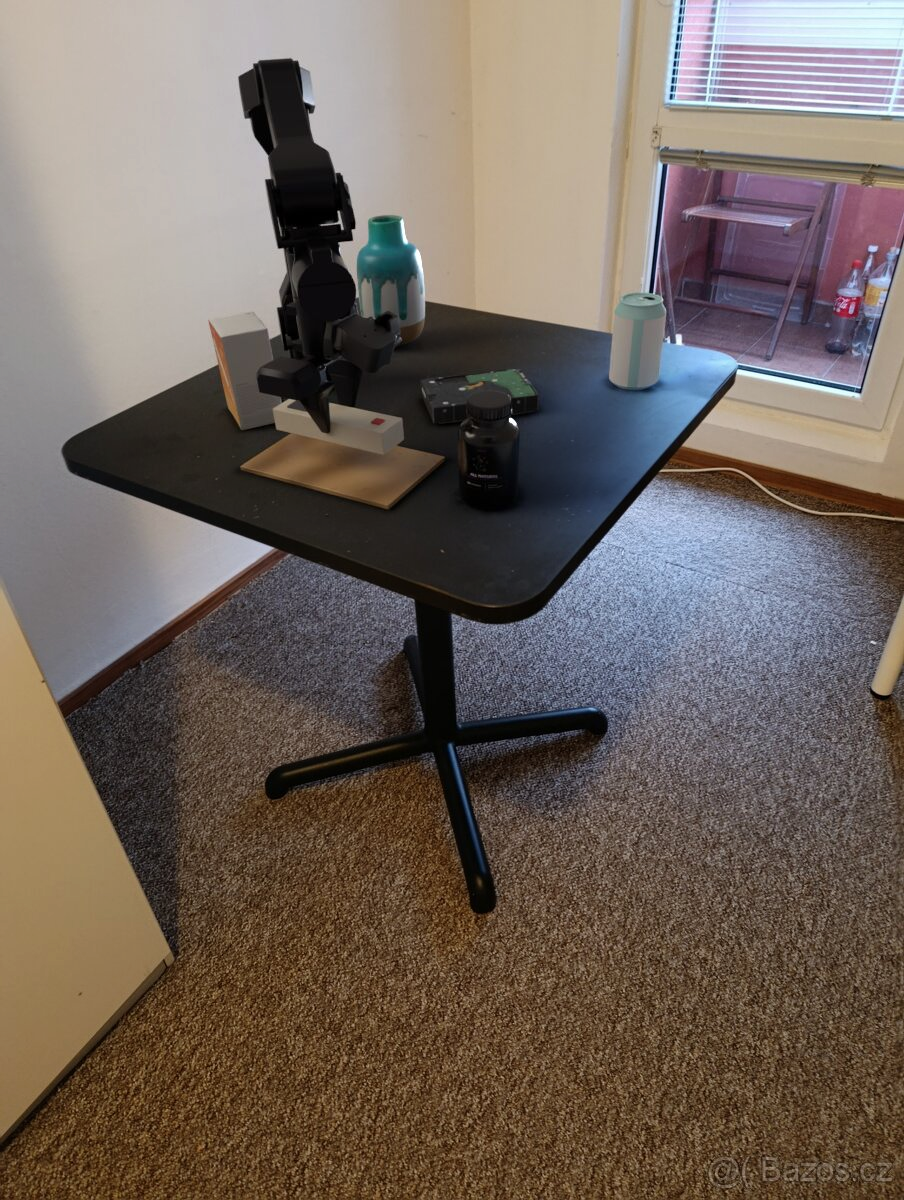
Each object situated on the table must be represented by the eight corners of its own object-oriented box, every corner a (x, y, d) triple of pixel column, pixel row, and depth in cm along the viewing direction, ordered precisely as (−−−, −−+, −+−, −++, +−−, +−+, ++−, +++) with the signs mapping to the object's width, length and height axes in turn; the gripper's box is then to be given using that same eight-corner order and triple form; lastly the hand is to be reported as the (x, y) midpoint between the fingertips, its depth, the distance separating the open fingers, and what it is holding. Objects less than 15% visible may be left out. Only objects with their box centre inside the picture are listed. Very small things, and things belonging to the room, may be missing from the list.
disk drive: (434, 428, 108) (540, 412, 110) (432, 408, 107) (540, 393, 109) (420, 397, 116) (519, 383, 118) (418, 379, 115) (519, 365, 117)
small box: (227, 409, 115) (206, 318, 107) (270, 400, 117) (253, 310, 109) (240, 431, 110) (219, 336, 102) (285, 421, 111) (268, 327, 104)
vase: (363, 334, 138) (350, 213, 126) (424, 329, 138) (417, 208, 127) (364, 357, 129) (350, 229, 118) (430, 352, 130) (422, 224, 118)
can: (611, 371, 121) (618, 289, 113) (659, 374, 119) (669, 291, 112) (605, 390, 115) (612, 305, 108) (656, 393, 114) (666, 307, 106)
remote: (276, 429, 100) (271, 407, 98) (298, 415, 103) (294, 393, 101) (384, 455, 93) (381, 431, 91) (404, 439, 96) (402, 416, 94)
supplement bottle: (474, 517, 89) (471, 417, 82) (450, 490, 94) (445, 393, 87) (529, 503, 91) (531, 404, 84) (502, 477, 97) (502, 381, 89)
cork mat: (240, 470, 101) (239, 466, 100) (304, 428, 109) (304, 424, 109) (388, 509, 92) (388, 505, 91) (445, 460, 100) (444, 456, 100)
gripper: (327, 329, 78) (347, 472, 88) (426, 276, 91) (433, 406, 100) (240, 315, 83) (267, 452, 92) (345, 266, 95) (360, 391, 105)
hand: (337, 424), depth 97 cm, fingers closed on remote, 4 cm apart
